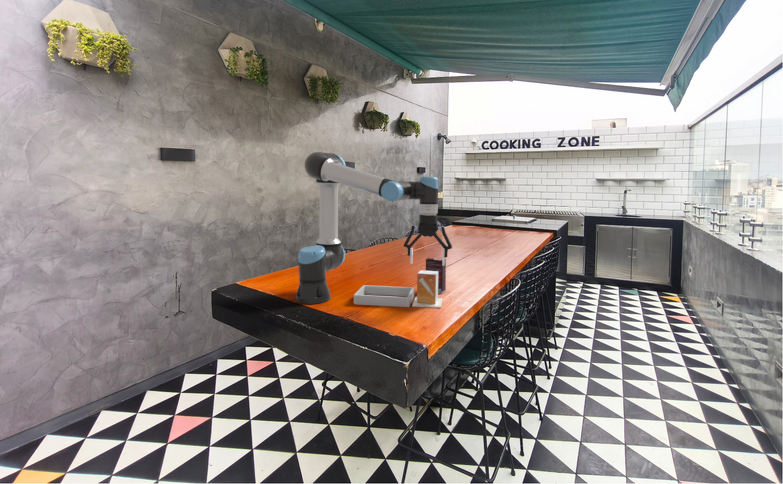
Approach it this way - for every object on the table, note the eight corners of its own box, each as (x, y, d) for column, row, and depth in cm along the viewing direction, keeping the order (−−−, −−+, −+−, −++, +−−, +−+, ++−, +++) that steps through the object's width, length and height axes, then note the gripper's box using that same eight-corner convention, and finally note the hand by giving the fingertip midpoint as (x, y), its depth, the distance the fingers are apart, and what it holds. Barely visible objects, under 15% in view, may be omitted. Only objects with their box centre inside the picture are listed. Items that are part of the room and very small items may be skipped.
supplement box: (445, 291, 183) (446, 258, 180) (442, 293, 178) (442, 260, 176) (429, 289, 187) (429, 257, 184) (425, 291, 182) (425, 258, 180)
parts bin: (353, 304, 164) (353, 295, 164) (363, 293, 180) (363, 285, 179) (409, 307, 160) (409, 297, 159) (414, 295, 175) (414, 287, 175)
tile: (412, 306, 161) (412, 305, 161) (415, 298, 172) (415, 296, 172) (440, 308, 158) (440, 306, 158) (442, 299, 170) (442, 298, 170)
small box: (416, 302, 163) (416, 273, 161) (420, 298, 170) (420, 269, 167) (435, 304, 161) (436, 274, 159) (438, 300, 167) (438, 270, 165)
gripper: (397, 214, 158) (396, 264, 162) (458, 215, 153) (456, 267, 157) (400, 212, 165) (399, 260, 169) (459, 214, 161) (457, 263, 164)
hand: (427, 264), depth 163 cm, fingers open, 13 cm apart
